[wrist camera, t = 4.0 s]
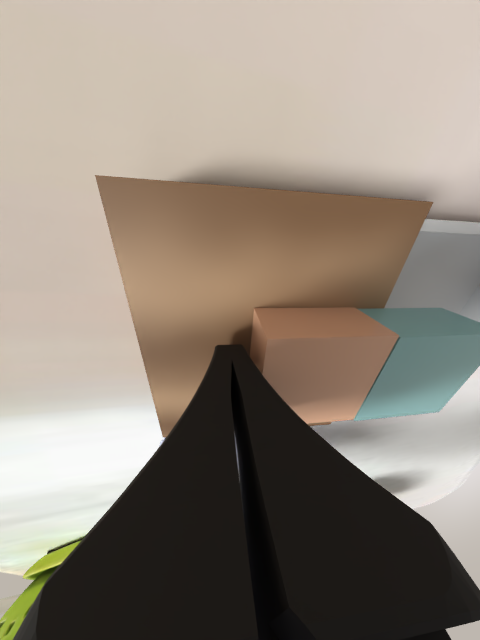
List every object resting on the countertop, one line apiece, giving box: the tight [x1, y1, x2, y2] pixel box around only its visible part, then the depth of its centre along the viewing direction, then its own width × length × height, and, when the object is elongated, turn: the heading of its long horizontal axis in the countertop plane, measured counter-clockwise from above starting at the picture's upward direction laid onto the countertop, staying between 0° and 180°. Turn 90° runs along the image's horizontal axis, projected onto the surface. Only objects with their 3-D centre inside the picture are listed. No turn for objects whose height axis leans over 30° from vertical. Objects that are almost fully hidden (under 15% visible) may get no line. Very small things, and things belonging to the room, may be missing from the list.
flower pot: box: [0, 541, 81, 640], centre depth 25 cm, size 14×14×13 cm
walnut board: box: [95, 175, 433, 437], centre depth 11 cm, size 14×12×4 cm
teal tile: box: [354, 308, 480, 421], centre depth 9 cm, size 5×5×2 cm
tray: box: [384, 219, 480, 322], centre depth 13 cm, size 13×10×2 cm
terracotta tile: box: [250, 307, 399, 424], centre depth 9 cm, size 5×5×2 cm
